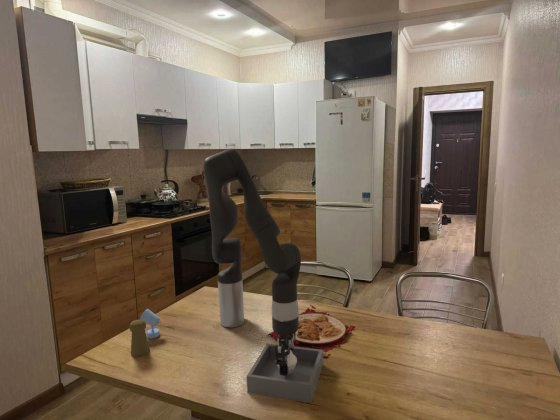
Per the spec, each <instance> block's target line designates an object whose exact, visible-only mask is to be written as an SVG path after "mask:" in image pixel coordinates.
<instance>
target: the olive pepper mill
mask: <svg viewBox="0 0 560 420" xmlns="http://www.w3.org/2000/svg"><path fill="white" fill-rule="evenodd" d="M146 329H147V323H146V322H145V321H144V320H141V319H140V318H139V319H135V320H132V321H131V322H130V324H129V330H130V332H131V341H130V355H131V356H132V357H135V358H136V357H142V356H143V357H144V356H145V355H147V354H148V353H150V350H151V349H150V345H149V341H148V338H147V334H146V332H147V331H146Z"/></svg>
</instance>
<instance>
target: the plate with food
mask: <svg viewBox="0 0 560 420" xmlns="http://www.w3.org/2000/svg"><path fill="white" fill-rule="evenodd" d="M309 306H310V307H311V308H309V307H307V309H306V310H305V311H303V312H301V313H298V315H299V329H298V331H297V332H296V344H295V345H294V347H302V348H310V349H319V350H323V358H325V357H330V356H331V353H327V352H328V351H331V350H332V351H333V348H335V347H336V346H339V347H338V348H340V347H341V346H340V345H343V344H345V343H346V341H345V336H347V335H350V336H351V334H352V335H353V331H356V329H355V328H356V326H355V325H352V324H351V325H349V326H348V325H347V324H345V323H344V322H343V321H342V320H340V319H339V318H337V317H334V316H333V315H330V313H328V311H325V312H324V311H316V306H313V305H312V304H309ZM346 334H347V335H346ZM267 336H270V337H271V338H275V339H276V340H278V337H279V335H278V334H277V333H275V332H274V331H273V330H272V331H271V332H269V333H267ZM324 352H325V354H324ZM326 353H327V354H326Z"/></svg>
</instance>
